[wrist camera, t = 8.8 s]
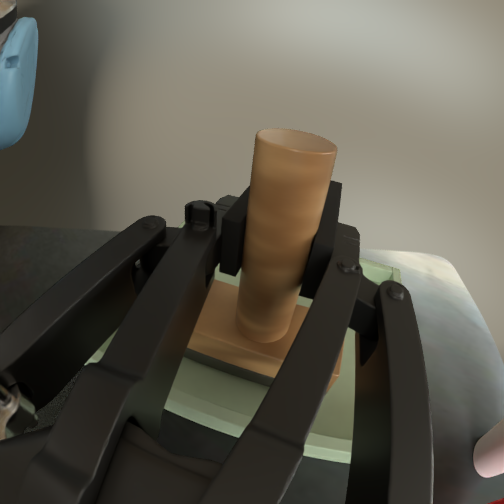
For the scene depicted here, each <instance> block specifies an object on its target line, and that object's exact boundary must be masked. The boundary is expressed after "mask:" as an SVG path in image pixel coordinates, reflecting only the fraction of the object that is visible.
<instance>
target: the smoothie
mask: <svg viewBox="0 0 504 504" xmlns="http://www.w3.org/2000/svg"><path fill="white" fill-rule="evenodd" d="M473 462H474V466H475V469H476V471H477V472H478V474H479V475H481V476H482V477H485V478H488V477H492V476H495V475H499V474H502V473H504V418H503V419H502V420H501V421H500V422H499V423H498V424H496V425H495V426H494V427H493V428H492V429H491V430H490V431H488V432H487V433H486V434H485V435H484V436H482V437H481V438H480V439H479V440H478V442H477V443H476V445H475V448H474V453H473Z"/></svg>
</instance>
